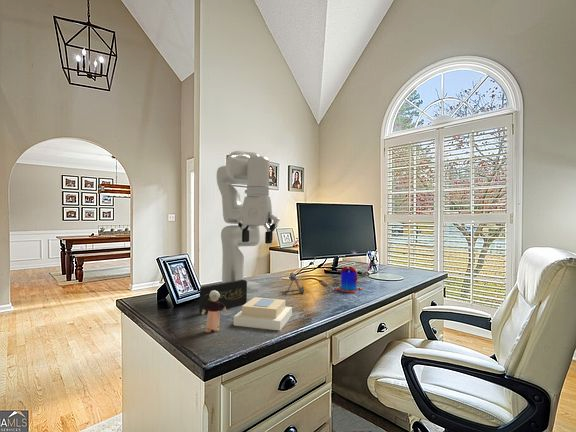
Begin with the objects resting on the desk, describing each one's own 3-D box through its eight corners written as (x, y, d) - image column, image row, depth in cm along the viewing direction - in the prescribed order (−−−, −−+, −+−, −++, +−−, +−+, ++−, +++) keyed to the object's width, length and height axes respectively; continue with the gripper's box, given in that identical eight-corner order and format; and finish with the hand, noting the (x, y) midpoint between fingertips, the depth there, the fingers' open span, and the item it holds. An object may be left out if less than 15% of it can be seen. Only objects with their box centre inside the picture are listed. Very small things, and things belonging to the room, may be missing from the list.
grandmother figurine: (203, 334, 96) (203, 292, 96) (200, 330, 99) (201, 289, 99) (227, 330, 99) (228, 290, 99) (224, 326, 103) (225, 287, 103)
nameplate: (202, 315, 114) (202, 287, 114) (199, 314, 115) (199, 286, 115) (246, 304, 129) (247, 279, 129) (243, 303, 131) (244, 279, 131)
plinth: (233, 325, 104) (233, 306, 104) (250, 311, 119) (251, 294, 119) (280, 330, 100) (280, 311, 100) (291, 315, 116) (292, 298, 116)
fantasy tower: (332, 289, 157) (332, 266, 157) (344, 286, 166) (344, 263, 166) (353, 294, 150) (353, 269, 150) (364, 290, 158) (365, 266, 158)
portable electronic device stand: (303, 294, 148) (304, 276, 148) (287, 293, 148) (287, 275, 148) (303, 289, 156) (303, 273, 156) (287, 289, 157) (287, 272, 157)
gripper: (231, 192, 109) (230, 241, 109) (272, 191, 100) (271, 244, 100) (244, 194, 116) (243, 240, 115) (284, 193, 107) (284, 243, 107)
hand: (256, 242), depth 108 cm, fingers open, 9 cm apart
